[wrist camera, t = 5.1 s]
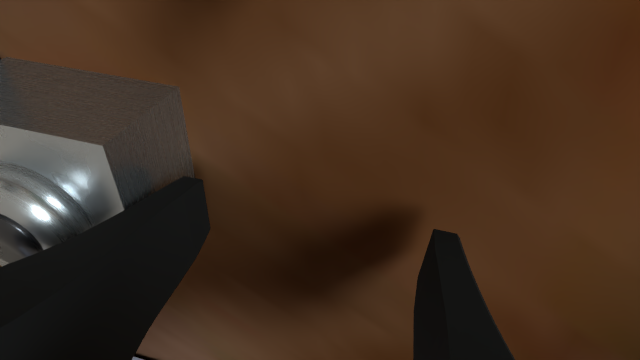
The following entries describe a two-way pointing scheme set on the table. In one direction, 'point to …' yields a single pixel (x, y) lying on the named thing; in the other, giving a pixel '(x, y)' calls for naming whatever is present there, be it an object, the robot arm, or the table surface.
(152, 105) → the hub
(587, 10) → the table surface
